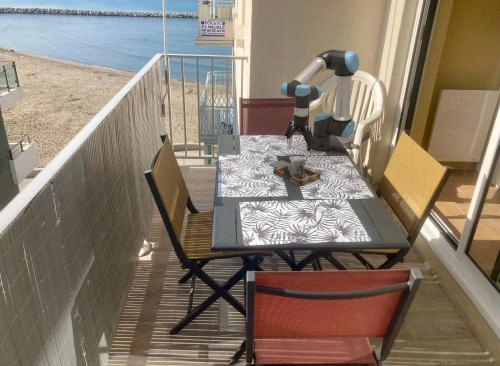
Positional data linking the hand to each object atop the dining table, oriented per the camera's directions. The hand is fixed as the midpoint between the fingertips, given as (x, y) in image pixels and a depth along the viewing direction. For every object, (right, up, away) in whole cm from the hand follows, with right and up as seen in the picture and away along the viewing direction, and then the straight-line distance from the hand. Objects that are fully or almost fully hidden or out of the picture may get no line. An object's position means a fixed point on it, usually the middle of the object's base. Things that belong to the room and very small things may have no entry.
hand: (297, 153), depth 227 cm
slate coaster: (-7, -6, +21) cm, 23 cm away
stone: (0, -13, +6) cm, 15 cm away
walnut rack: (0, -13, +6) cm, 14 cm away
